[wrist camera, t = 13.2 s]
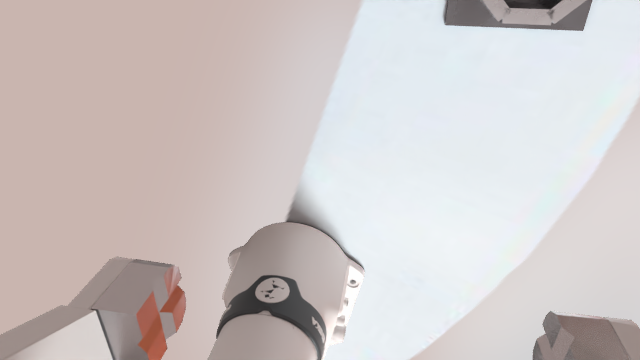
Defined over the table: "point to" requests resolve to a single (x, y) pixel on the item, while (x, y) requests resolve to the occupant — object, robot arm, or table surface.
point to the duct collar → (519, 13)
